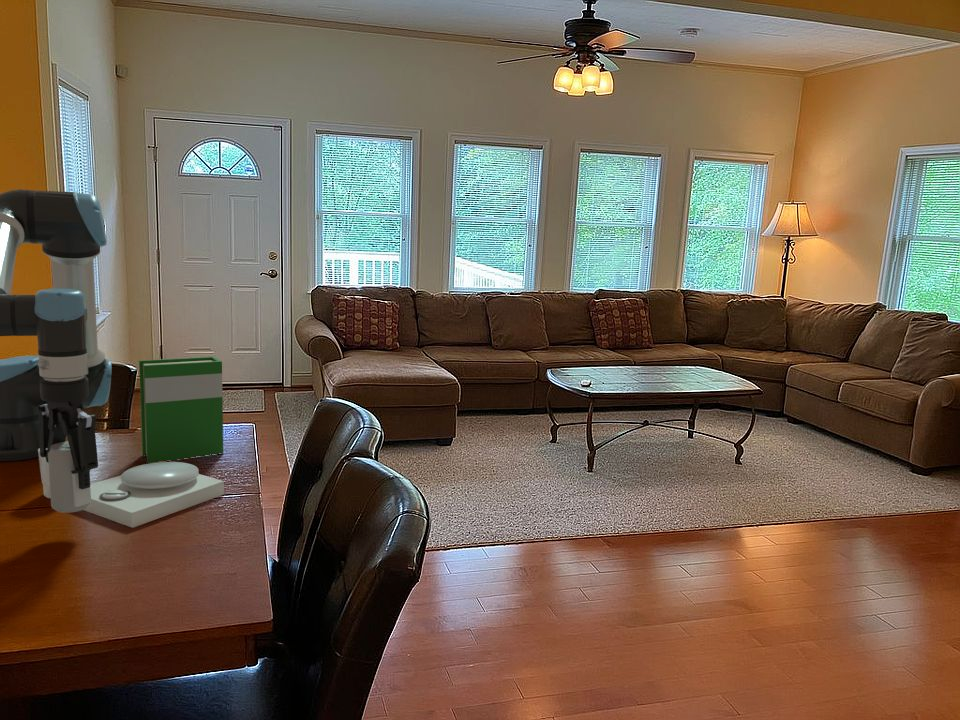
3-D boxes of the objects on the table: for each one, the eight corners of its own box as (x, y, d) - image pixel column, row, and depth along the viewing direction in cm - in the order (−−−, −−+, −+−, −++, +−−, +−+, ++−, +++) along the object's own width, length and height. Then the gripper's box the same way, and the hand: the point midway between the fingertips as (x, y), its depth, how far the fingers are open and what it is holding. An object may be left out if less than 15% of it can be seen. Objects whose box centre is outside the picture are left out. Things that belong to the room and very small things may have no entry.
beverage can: (73, 516, 129) (70, 452, 127) (42, 511, 130) (38, 447, 128) (99, 503, 135) (96, 441, 133) (69, 499, 136) (65, 438, 134)
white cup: (44, 503, 147) (41, 455, 146) (37, 491, 153) (34, 445, 151) (87, 495, 152) (85, 449, 151) (79, 484, 158) (77, 440, 156)
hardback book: (147, 464, 173) (144, 365, 169) (142, 455, 180) (139, 360, 175) (223, 454, 183) (221, 361, 179) (215, 446, 189) (214, 356, 185)
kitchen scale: (68, 504, 147) (67, 481, 146) (162, 475, 166) (161, 454, 165) (132, 527, 137) (131, 502, 137) (224, 494, 156) (223, 472, 156)
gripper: (11, 372, 129) (19, 494, 134) (76, 389, 121) (83, 519, 125) (53, 366, 136) (59, 483, 140) (118, 381, 127) (122, 505, 131)
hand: (70, 499), depth 133 cm, fingers closed on beverage can, 6 cm apart
